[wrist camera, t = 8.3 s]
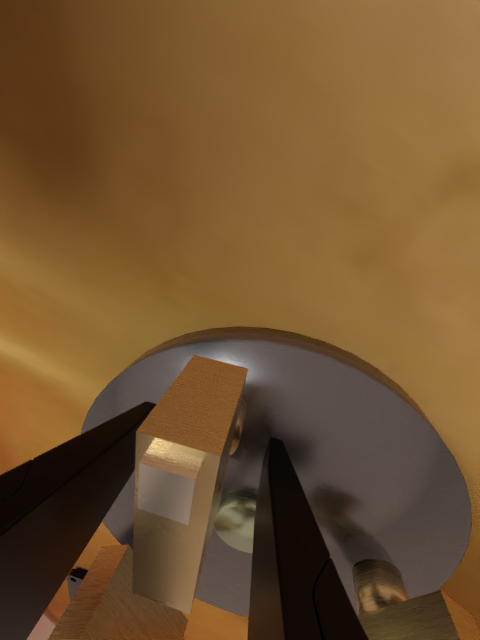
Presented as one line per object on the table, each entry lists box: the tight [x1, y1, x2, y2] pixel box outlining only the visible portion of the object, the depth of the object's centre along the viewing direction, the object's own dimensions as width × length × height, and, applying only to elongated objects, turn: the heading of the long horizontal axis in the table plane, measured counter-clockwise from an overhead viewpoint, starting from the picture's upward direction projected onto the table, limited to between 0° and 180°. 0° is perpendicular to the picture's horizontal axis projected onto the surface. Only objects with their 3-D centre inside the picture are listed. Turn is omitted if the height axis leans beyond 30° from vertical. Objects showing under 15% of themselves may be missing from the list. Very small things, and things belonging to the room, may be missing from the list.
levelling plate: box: [81, 327, 472, 617], centre depth 12 cm, size 17×17×2 cm
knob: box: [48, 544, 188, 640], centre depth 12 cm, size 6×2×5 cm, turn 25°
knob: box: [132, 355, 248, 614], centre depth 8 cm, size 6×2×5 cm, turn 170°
